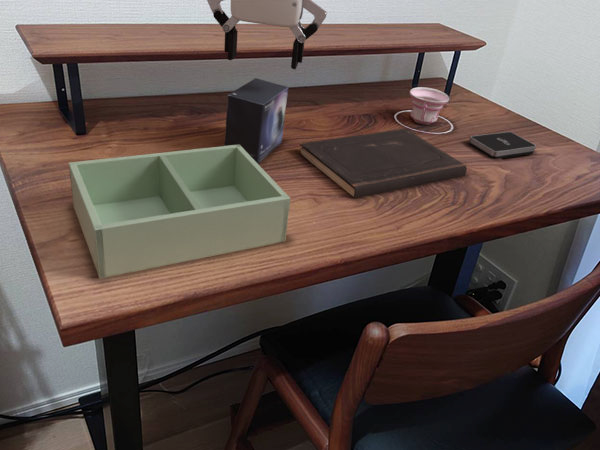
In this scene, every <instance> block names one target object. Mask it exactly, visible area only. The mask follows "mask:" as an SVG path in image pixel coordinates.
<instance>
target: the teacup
mask: <svg viewBox="0 0 600 450" xmlns="http://www.w3.org/2000/svg"><path fill="white" fill-rule="evenodd" d="M409 97H410V99H411V104H412V108H411V109H408V110H401V111H398V112H396V113H395V114H394V118H393V119H395V121H396V122H397V123H398V124H399V125H401V126H403V127H404V128H406V129H407V128H408V129H410V130H413V131H416V132H419V133H425V134H430V132H429V131H424V130H418V129H414V128H412V127H409V126H406V125H405V124H403V123H402V122H400V121H399V120H398V119H397V116H398V115H399V114H402V113H405V112H410V117H411V118H412V119H413V121H414V122H415V123H417V124H419V125H424V126H430V125H432V124H434V123H436V122H438V118H440V119H443V120H444V121H446V122H447V123H448V124H449V125H450V129H449V130H447V131H443V132H431V134H434V135H441V134H442V135H443V134H447V133H450V132H452V131H453V130H454V124H453V123H452V122H451V121H449V120H448V119H447V118H445V117H444V116H441V115H439V113H440V112H441V110H443V109H444V106H445V105H447V104H448V103H449V101H450V97H449V95H448V94H447V93H445V92H443V91H442V90H439V89H436V88H432V87H425V86H424V87H423V86H418V87H413V88H411V89H410V90H409Z"/></svg>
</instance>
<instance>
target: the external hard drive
mask: <svg viewBox="0 0 600 450" xmlns="http://www.w3.org/2000/svg"><path fill="white" fill-rule="evenodd" d="M468 146H470V147H472V148H474V149H475V150H477V151H478V152H479V153H481V154H484V155H485V156H487V157H488V158H490V159H492V160H497V159H501V160H503V159H509V158H516V157H522V156H523V157H524V156H530V155H533V154H534V153H535V150H536V148H537V145H536V144H535V143H533V142H531V141H529V140H527V139H525V138H524V137H521V136H519V135H518V134H516V133H514V132H512V131H503V132H502V131H501V132H495V133H486V134H477V135H471V136H470V138H469V141H468Z"/></svg>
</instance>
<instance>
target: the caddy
mask: <svg viewBox="0 0 600 450" xmlns="http://www.w3.org/2000/svg"><path fill="white" fill-rule="evenodd" d="M68 170H69V178H70V179H69V180H70V186H71V187H70V188H71V197H72V205H73V209H74V212H75V215H76V217H77V220H78V223H79V226H80V228H81V232H82V234H83V237H84V240H85V242H86V246H87V248H88V251H89V253H90V257H91V260H92V262H93V265H94V268H95V270H96V271H95V272H96V274H97V276H98V279H99V280H102V279H105V278H110V277H115V276H121V275H126V274H131V273H135V272H140V271H145V270H151V269H155V268H161V267H165V266H169V265H170V266H171V265H175V264H180V263H181V264H182V263H185V262H191V261H196V260H200V259H204V258H211V257H215V256H221V255H225V254H230V253H234V252H235V253H236V252H239V251H240V252H241V251H244V250H245V251H246V250H250V249H254V248H259V247H265V246H270V245H274V244H280V243H285V242H286V238H287V230H288V223H289V215H290V207H291V206H290V205H291V197H290V196H289V195H288V194H287V193H286V191H284V190H283V188H281V186H280V185H279V184H278V183H276V181H275V180H274V179H273V178H272V177H271V176H270V175H269V173H267V172H266V171H265V170H264V169H263V168H262V167H261V165H260V164H259V163H258V164H257V162H256V161H255V160H254V159H253V158H252V157H251V156H250V155H249V154H248V153H247V152H246V151H245V150H244V149H243V148H242V147H241V145H229V146H224V145H221V146H212V147H211V146H210V147H201V148H194V149H193V148H192V149H184V150H173V151H165V152H155V153H146V154H136V155H127V156H118V157H108V158H99V159H98V158H97V159H90V160H81V161H71V162H68Z"/></svg>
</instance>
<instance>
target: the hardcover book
mask: <svg viewBox="0 0 600 450" xmlns="http://www.w3.org/2000/svg"><path fill="white" fill-rule="evenodd" d="M299 146H300V147H301V149H300V155H302V156H303V157H304V158H305V159H307V160H308V161H309V162H310V163H311V164H312V165H314V166H315V167H316V168H318V169H319V170H320V171H321V172H322V173H323V174H325V176H327V177H328V178H330V179H331V180H332V181H333V182H334V183H336V184H337V185H338V186H339V187H341V188H342V189H343V190H344V191H346V193H348V194H349V195H350V196H352V197H353V199H354V200H355V199H359V198H364V197H368V196H374V195H378V194H383V193H387V192H388V193H389V192H393V191H398V190H403V189H407V188H412V187H418V186H422V185H423V186H424V185H428V184H432V183H437V182H441V181H446V180H451V179H456V178H461V177H465V176H466V173H467V169H468V168H467V165H466V164H465V163H463V162H461V161H460V160H458V159H456V158H455V157H454V156H451V155H450V154H448V153H446V152H445V151H443V150H441V149H440V148H438V147H436V146H435V145H433V144H432V143H430V142H428V141H427V140H425V139H423V137H420V136H418V135H417V134H415V133H413V132H412V131H410V130H408V129H407V128H402V129H395V130H394V129H393V130H388V131H381V132H373V133H366V134H358V135H350V136H344V137H336V138H330V139H329V138H328V139H322V140H315V141H308V142H307V141H306V142H299Z"/></svg>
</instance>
